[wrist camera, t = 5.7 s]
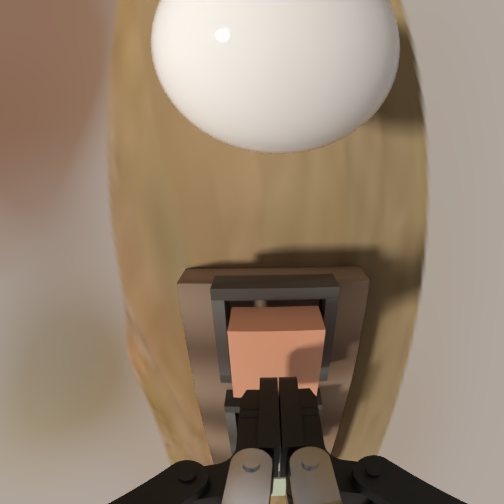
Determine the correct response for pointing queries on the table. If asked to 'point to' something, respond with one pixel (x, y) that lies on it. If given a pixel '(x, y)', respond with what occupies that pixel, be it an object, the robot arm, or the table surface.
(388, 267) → the table surface
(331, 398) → the button board
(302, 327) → the terracotta button
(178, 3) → the lightbulb
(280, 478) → the sage button
